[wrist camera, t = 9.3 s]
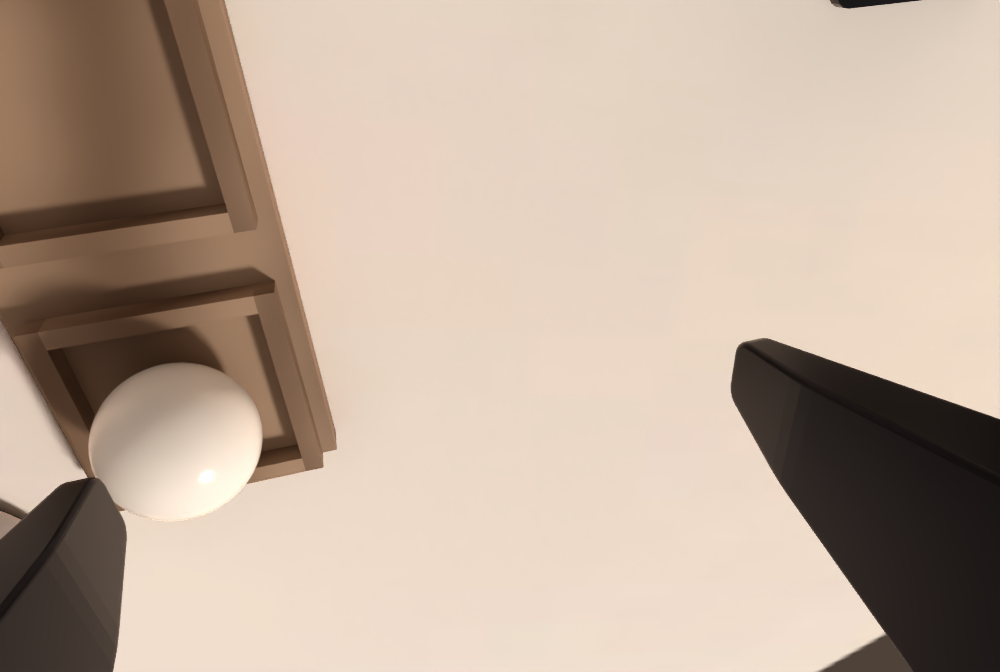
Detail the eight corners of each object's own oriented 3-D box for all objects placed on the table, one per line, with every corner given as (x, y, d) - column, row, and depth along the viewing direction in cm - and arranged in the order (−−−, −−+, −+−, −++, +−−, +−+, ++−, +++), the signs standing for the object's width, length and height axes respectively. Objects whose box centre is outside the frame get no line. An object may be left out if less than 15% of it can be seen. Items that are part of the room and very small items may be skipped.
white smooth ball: (244, 321, 21) (232, 410, 17) (280, 433, 23) (276, 533, 19) (85, 349, 20) (35, 449, 16) (140, 462, 22) (107, 572, 19)
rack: (207, -66, 16) (197, -65, 15) (335, 432, 25) (337, 464, 24) (-165, -37, 15) (-216, -33, 14) (106, 479, 24) (93, 516, 22)
